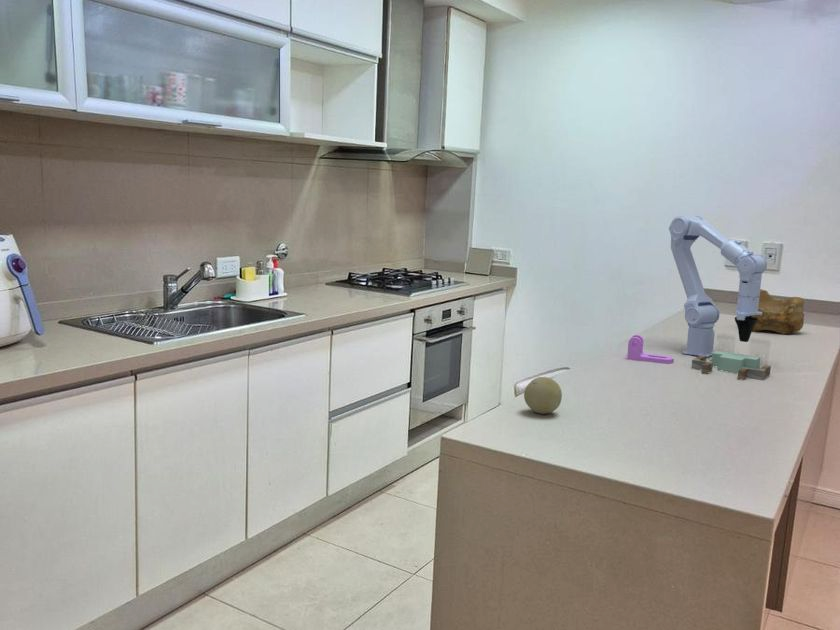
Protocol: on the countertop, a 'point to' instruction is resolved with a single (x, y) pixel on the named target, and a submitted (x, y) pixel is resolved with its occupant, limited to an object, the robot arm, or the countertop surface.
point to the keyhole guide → (742, 373)
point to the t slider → (734, 361)
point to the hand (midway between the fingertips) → (743, 341)
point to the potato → (543, 395)
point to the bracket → (637, 353)
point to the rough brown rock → (779, 314)
